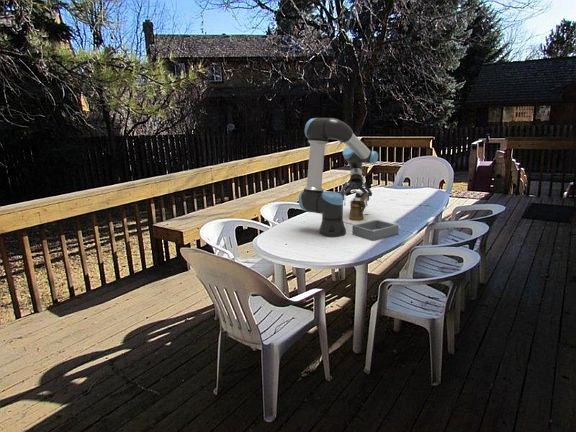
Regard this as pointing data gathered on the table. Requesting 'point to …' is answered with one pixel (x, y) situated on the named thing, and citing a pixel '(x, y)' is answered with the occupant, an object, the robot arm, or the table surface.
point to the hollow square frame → (382, 232)
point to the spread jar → (358, 196)
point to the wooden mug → (357, 208)
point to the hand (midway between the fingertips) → (355, 204)
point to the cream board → (355, 222)
